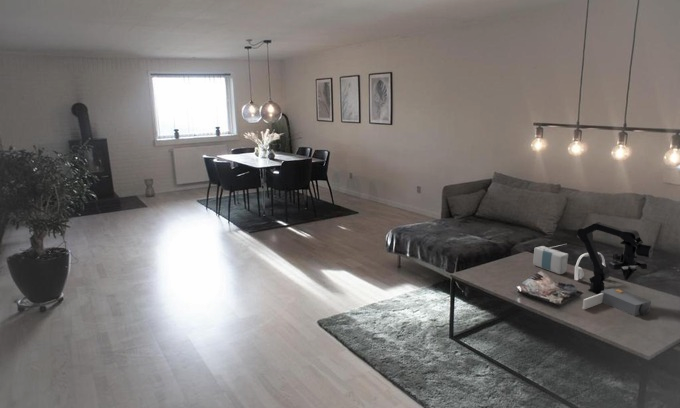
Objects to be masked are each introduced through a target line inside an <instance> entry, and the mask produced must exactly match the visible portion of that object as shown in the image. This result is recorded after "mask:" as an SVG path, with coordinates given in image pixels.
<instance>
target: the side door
mask: <svg viewBox="0 0 680 408" xmlns="http://www.w3.org/2000/svg"><path fill="white" fill-rule="evenodd" d="M603 299H604V293H600V294H594V295H593V296H592V295H591V296H589V297H587V298H583V301H582V310H587V309H590V308H593V307H594V306H597V305H600V304H604V303H603Z"/></svg>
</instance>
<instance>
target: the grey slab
mask: <svg viewBox="0 0 680 408" xmlns="http://www.w3.org/2000/svg"><path fill="white" fill-rule="evenodd" d="M601 293H604V299H603V303H602V304H605V305H607V306H610V307H612V308H615V309H616V310H620V311H622V312H624V313H627V314H628V315H631V316H634V317H635V316H639V315H647V314H648V313H649V312H650V311H651V306H652V305H651V304H652V300H649V299H646V298H644V297H642V296H639V295H637V294H635V293H631V292H628V291H627V290H623V289H621V288H618V287H612V288H608V289H604V291H601Z"/></svg>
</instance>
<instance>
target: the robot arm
mask: <svg viewBox="0 0 680 408" xmlns="http://www.w3.org/2000/svg"><path fill="white" fill-rule="evenodd" d="M595 231H600V232H603V233H606V234H608V235H609V234H610V235H613V236H615V237H618V238H620V239H621V240H622V241H620V245H623V252H622V253H621V254H620V255H619V254H618V253H613V254H612V259H613V261H609V262H608V264H607V265H608V266H606V267H605V266H604V265H603V264H602V259H601V258H600V257H601V256H600V254H599V255H598V253H597V252H598V250H597V248H596V245H595V243H594V235H593V232H595ZM576 235H577V237H578V239H579V240H580V241H581V242H582V243H583V244H584V247H585V249H586V251H587V252H586V253H588V254H589V256H588V257H589V259H590V261H591V264H592V266H593V269H592V270H593V276H592V277H590V278H589V282H590V288H589V289H588V291H589V292H592V293H593V294H595V295H597V294H600V293H601V291H604V290H605V281H606V280H607V279H609V278H610V276H611V275H610V273H611V271H610V270H609V268H611V269H613V270H621V271H622V275H623V277H624V280H625V281H628V280H629V279H630V277H631V276H632V275H633V274H634V272H636V271H637V270H638V269H637V268H636V267H640V268H641V270H647V269H648V266H649V265H648V264H647V263H646V262H644V261H642V260H636V259H637V258H638V256H639V257H643V258H644V257H645V258H648V259H651V258H652V257H653V254H654V249H653V245H652V244H646V243H644V242H643V240H642V238H641V237H640V233H639V231H637V230H634V229H627V228H619V227H616V226H612V225H608V224H605V223H602V222H600V221H596V222H594V223H592V224H590V225H589V226H584V227H580V228H579V229H578V230H577V231H576ZM619 262H620V263H619Z"/></svg>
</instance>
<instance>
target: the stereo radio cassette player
mask: <svg viewBox="0 0 680 408" xmlns="http://www.w3.org/2000/svg"><path fill="white" fill-rule="evenodd" d="M563 245H565V246H566V243H564V244H560V245H556V246H555V245H554V246H549V247H547V246H545V245H540V246H537V247H534V249H533V250H534V251H533V261H532V264H533V266H535V267H538V268H542V269H544V270H546V271H549V272H552V273H554V274H557V275H563V274H564V273H566V272H567V269H568V267H567V266H568V259H569V253H567V252H564V251H560V250H557V249H553V248H556V247H559V246H563Z"/></svg>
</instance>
